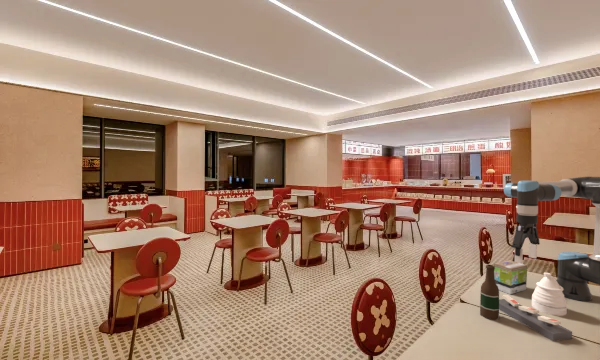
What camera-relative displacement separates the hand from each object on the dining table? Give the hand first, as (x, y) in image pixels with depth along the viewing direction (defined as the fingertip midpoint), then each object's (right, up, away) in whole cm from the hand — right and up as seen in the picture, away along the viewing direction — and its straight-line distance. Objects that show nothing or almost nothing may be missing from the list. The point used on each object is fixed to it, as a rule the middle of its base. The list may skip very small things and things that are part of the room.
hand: (525, 260), depth 128 cm
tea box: (+16, -26, +32) cm, 44 cm away
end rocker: (+1, -22, -10) cm, 25 cm away
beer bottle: (-15, -27, +3) cm, 31 cm away
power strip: (0, -27, -1) cm, 27 cm away
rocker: (-1, -22, +7) cm, 23 cm away
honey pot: (+19, -27, +9) cm, 34 cm away
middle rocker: (0, -22, -2) cm, 22 cm away
